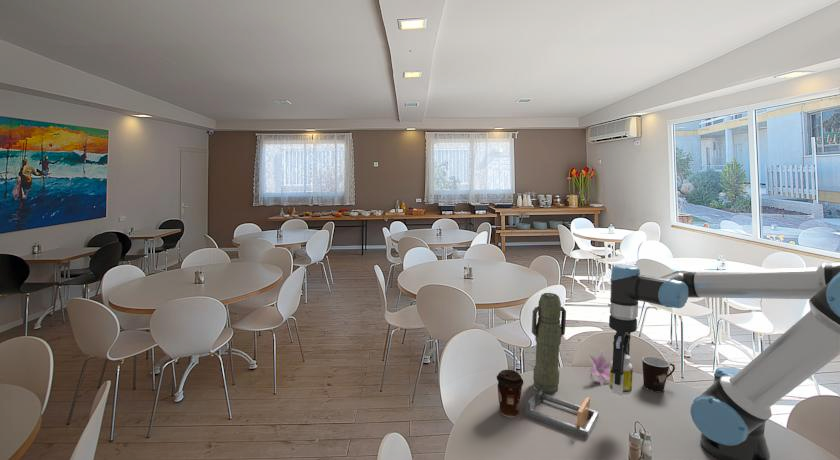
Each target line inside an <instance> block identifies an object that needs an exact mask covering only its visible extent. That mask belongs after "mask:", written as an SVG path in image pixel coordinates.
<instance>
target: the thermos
mask: <svg viewBox="0 0 840 460" xmlns="http://www.w3.org/2000/svg"><path fill="white" fill-rule="evenodd" d="M537 315H538V316H537ZM560 318H561V320H560ZM566 318H567V310H566V309H565V308H564V307H563V306H562V302H561V299H560V296H559V295H558V294H556V293H553V292H544V293H542V294H541V295H540V298H539V300H538V305H537V306H535V307H534V308H533V310H532V320H531V321H532V322H531V333H532V334H533V335H534V337H535V338H534V339H535V343H536V345H535V349H536V350H535V365H534V366H533V378H532V379H533V385H534V386H533V388H534V387H535V388H536V389H537V390H538V389H539V388H541V389H542V393H544V394H554V393H557V392H559V384H560V369H559V359H560V358H559V355H560V345H561V343H562V337H563V336H565V333H566V320H567V319H566ZM535 388H534V389H535ZM536 389H535V390H536ZM537 390H536V391H537Z"/></svg>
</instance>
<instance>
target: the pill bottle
mask: <svg viewBox="0 0 840 460" xmlns="http://www.w3.org/2000/svg"><path fill="white" fill-rule="evenodd" d="M629 362H631V356H630V354H629V355H627V354H625V356H624V366H623V374H624V379H623V395H630V394H631V393H632V391H633V390H632V389H633V373H634V371H633V368H634V367H633V365H632V362H631V363H629ZM609 364H610V370H612V364H613V359H612V360H611V361H610V363H609ZM610 370H609V371H610ZM608 381H609V385H608V387H609V389H610V390H611V392H612V391H613V373H612V372H610V380H608Z"/></svg>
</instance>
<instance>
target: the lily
mask: <svg viewBox="0 0 840 460" xmlns="http://www.w3.org/2000/svg"><path fill="white" fill-rule="evenodd" d="M588 358H589V360H590V362H591V363H592V366H591V368H590V369H589V370H588V373H589V374H590V376H592V375H595V376H597V377H598V380H599V383H600V386H604V383H605V379H606V380H608V381H609V380H610V363H609V362H607V360H606V356H605V354H604V352H603V350H600V351H599V354H598V357H597V358H596V357H594V356H591V355H588Z"/></svg>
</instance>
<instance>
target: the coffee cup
mask: <svg viewBox="0 0 840 460" xmlns="http://www.w3.org/2000/svg"><path fill="white" fill-rule="evenodd" d="M496 380H497V382H498V383H497V396H498V402H499V406H498V407H499V412H500V414H501V415H502V416H503V417H506V418H510V419H511V418H513V419H514V418H516V417H517V416H519V415H520V405H521V398H522V396H521V395H522V389H523V385H524V379H523V377H522V375H521V374H519V373H518V372H517V371H516V370H513V369H503V370H501V371H499V373H498V374H497V375H496Z"/></svg>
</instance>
